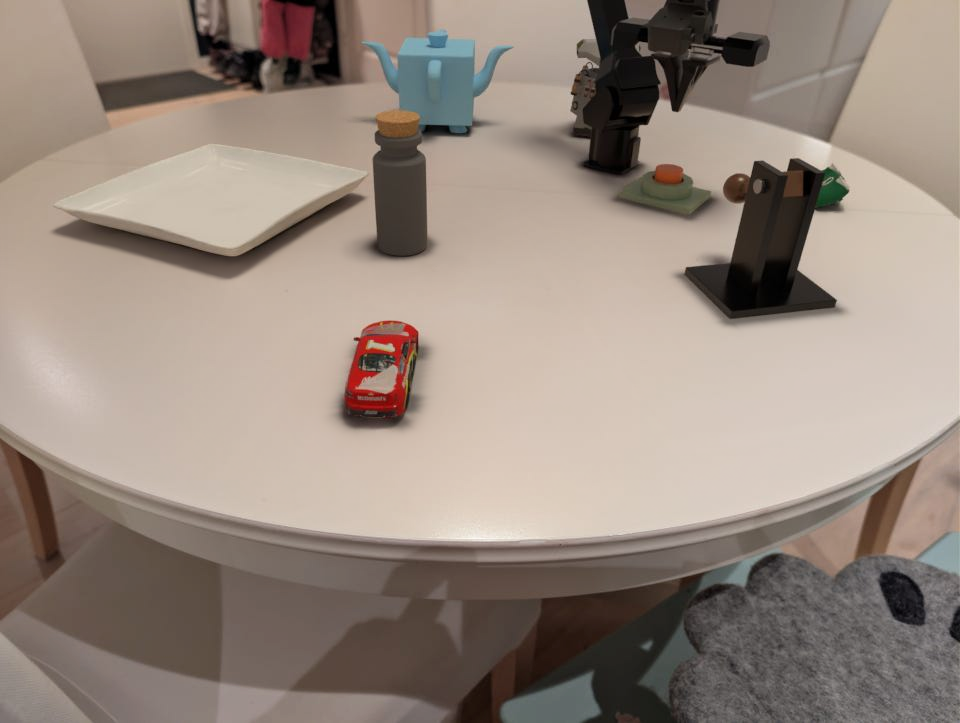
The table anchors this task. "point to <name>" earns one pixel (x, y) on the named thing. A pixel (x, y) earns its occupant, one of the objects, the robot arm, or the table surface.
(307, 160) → the square plate
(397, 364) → the race car
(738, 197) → the lever
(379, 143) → the bottle
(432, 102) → the teakettle
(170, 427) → the table surface
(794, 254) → the bracket
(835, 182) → the green carton
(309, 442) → the table surface
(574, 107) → the figurine
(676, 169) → the button
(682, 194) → the button block
